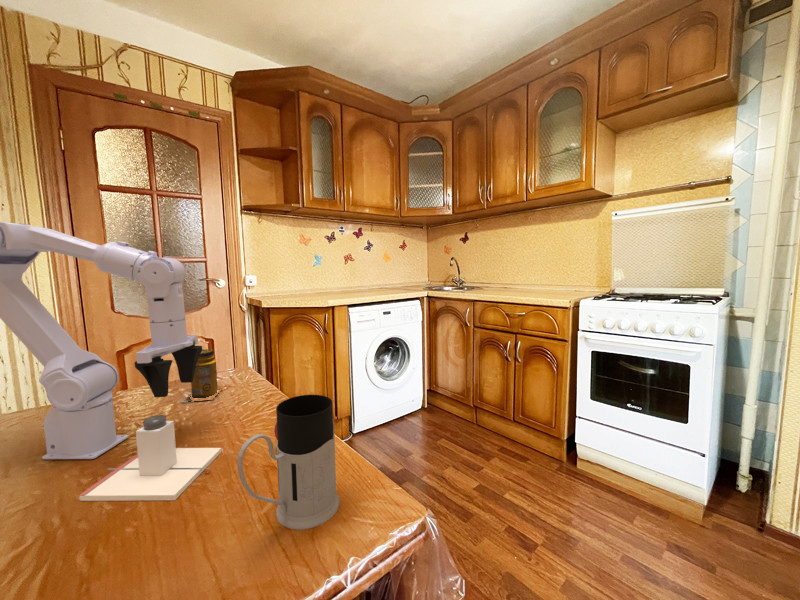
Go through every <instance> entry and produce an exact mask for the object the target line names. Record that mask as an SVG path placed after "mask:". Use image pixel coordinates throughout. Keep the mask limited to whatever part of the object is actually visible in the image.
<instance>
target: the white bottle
mask: <svg viewBox="0 0 800 600" xmlns="http://www.w3.org/2000/svg"><path fill="white" fill-rule="evenodd" d="M142 422H143V426H142V427H141V428H139V429H137V430H136V431H135V436H136V438H135V439H136V449H137V451H136V452H137V454H138V462H139V474H140V475H163V474H164V473H165V472H166V471H168V470H169V469H170V468H171V467H172V466H173V465H175V464H176V463H177V457H176V448H177V447H176V446H177V445H176V434H175V422H174V420H167V415H165V414H159V415H158V414H157V415H151V416H149V417H145V419H144V420H143V421H142Z"/></svg>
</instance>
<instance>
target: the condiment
mask: <svg viewBox="0 0 800 600" xmlns="http://www.w3.org/2000/svg"><path fill="white" fill-rule="evenodd" d="M190 385H191V394H192V397H193V398H206V397H209V396H212V395H214V394H215V393H217V390H218V389H219V388H218V374H217V361H216V359H215V352H214V350H213V349H207V348H205V349H202V351H201V353H200V355H199V357H198V360H197V363H196V367H195V373H194V378H193V382H191V383H190ZM191 394H190V395H191ZM190 395H188V396H187V397H186V398H185V399H184V400H182V403H187V404H188V403H189V402H188V401H191V402H190V403H195V402H194V401H192V400H191V399H190V397H191V396H190ZM189 396H190V397H189Z"/></svg>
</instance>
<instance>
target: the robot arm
mask: <svg viewBox="0 0 800 600" xmlns="http://www.w3.org/2000/svg"><path fill="white" fill-rule="evenodd" d="M130 245H131V244H130V243H129V242H126V241H122V240H118V241H117V242H114V241H110V242H109V241H108V242H106V243H104V244H101V245H100V244H97V243H94V242H91V241H88V240H85V239H82V238H79V237H76V236H73V235H70V234H67V233H65V232H64V233H63V232H60V231H57V230H55V229H52V228H48V227H42V226H36V225H34V226H33V225H31V224H26V223H16V222H15V223H14V222H7V221H0V320H1V321H2V322H3V323H4V324H5V326H6V327H7V328H8V329H9V330H10V331H11V332H12V333H13V334H14V335H15V337H16V338H17V339H18V340H19V341H20V342H21V343H22V344H23V345H24V346H25V348H26V349H28V351H29V352H30V353H31V354H32V355H33V356H34V357H35V358H36V359H37V360H38V362H39V363H40V364H41V365H42V366H43V370H42V372H41V374H40V376H39V379H38V382H39V383H40V384H41V385H42V387H43V388H44V390H45V392H46V393H45V394H46V398H47V400H48V402H49V403H50V404H51V405H52V406H53V407H51V409H49V410H48V411H47V413H46V416H45V418H44V420H43V430H44V439H45V440H44V441H45V447H46V454H44V455H43V456H42V457H41V458H42V460H93V459H96V458H98V457H99V456H101V455H102V454H105V452H107V451H109V450H111V449H112V448H114V447H116V446H117V445H119V444H120V443H122V442H124V441H125V440H126V439H128V438H129V434H117V431H116V422H115V421H116V419H115V411H114V410H115V409H114V400H113V398H114V397H113V394H114V393H113V391H114V390H113V389H114V388H115V387H117V385H118V383H119V381H120V376H119V372H118V370H117V368H116V366H114V365H113V364H111V363H110V362H106V361H104V360H103V359H101V357H100V356H99V355H98V354H97V353H94V352H90V351H88V350H85V349H82V348H81V347H80V346H79V345H78V344H77V342H76V341H75V340H74V339H73V338H72V337H71V336H70V335H69V333H68V332H67V331H66V330H65V328H64V327H62V325H61V324H60V323H59V322H58V321H57V320H56V319H55V317H54V316H53V315H52V314H51V313H50V312H49V310H48V309H47V308H46V307H45V306H44V305H43V303H42V302H41V301H40V300H39V299H38V298H37V297H36V296H35V294H34V293H33V292H32V291H31V289H30V288H29V287H28V286H27V285H26V283H24V282H23V280H22V277H23V274H24V273H25V272H26V271H27V270H28V269H29V268H30V266H31V265H32V263H33V262H34V261H35V260H37V258H38V257H39V255H40V254H42V252H43V253H48V252H52V253H53V252H54V253H57V254H60V255H65V256H69V257H72V258H73V257H74V258H77V259H81V260H85V261H89V262H93V263H94V264H95V267H96V268H97V269H98V270H99V271H100V272H102V273H106V274H110V275H113V276H117V277H121V278H125V279H128V280H131V281H135V282H139V283H141V285H143V286H144V287H145V291H146V301H147V310H148V311H147V312H148V320H149V329H150V330H149V331H150V340H151V344H150V345H148V346H147V347H145V348H143V349H142V350H140V351H136V353H135V356H136V357H135V358H136V361H134V368H135V369H136V370H137V371H138V372H139V373H140V374H141V375H142V376H143V378H144V379H145V380H146V382H147V384H148V386H149V389H150V390H151V393H152V395H153V397H154V398H166V397H168V395H169V375H170V370H171V366H172V364H173V359H174V361H175V364H176V367H177V368H176V369H177V372H178V378H179V381H180V383H181V384H182V383H185V384H188V383H190V384H191V382H193V378H194V373H195V367H196V363H197V360H198V357H199V355H200V353H201V351H202V350H203V346H202V345H199V337H198V336H199V335H198V334H192V335H191V334H189V335H188V333H187V332H188V331H187V320H186V311H185V310H186V309H185V300H184V299H185V297H184V291H183V282H184V281H185V279H186V276H187V271H186V268H185V265H184V264H183V263H182V262H181V261H179V259H175V258H174V257H173V256H164V257H159V255H158V252H156V251H153V250H149V251H144V250H141V249H139V248H135V247H132V246H131V247H130ZM170 354H171V355H172V357H173V359H164V358H162V357H165V356H166V355H170Z"/></svg>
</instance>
